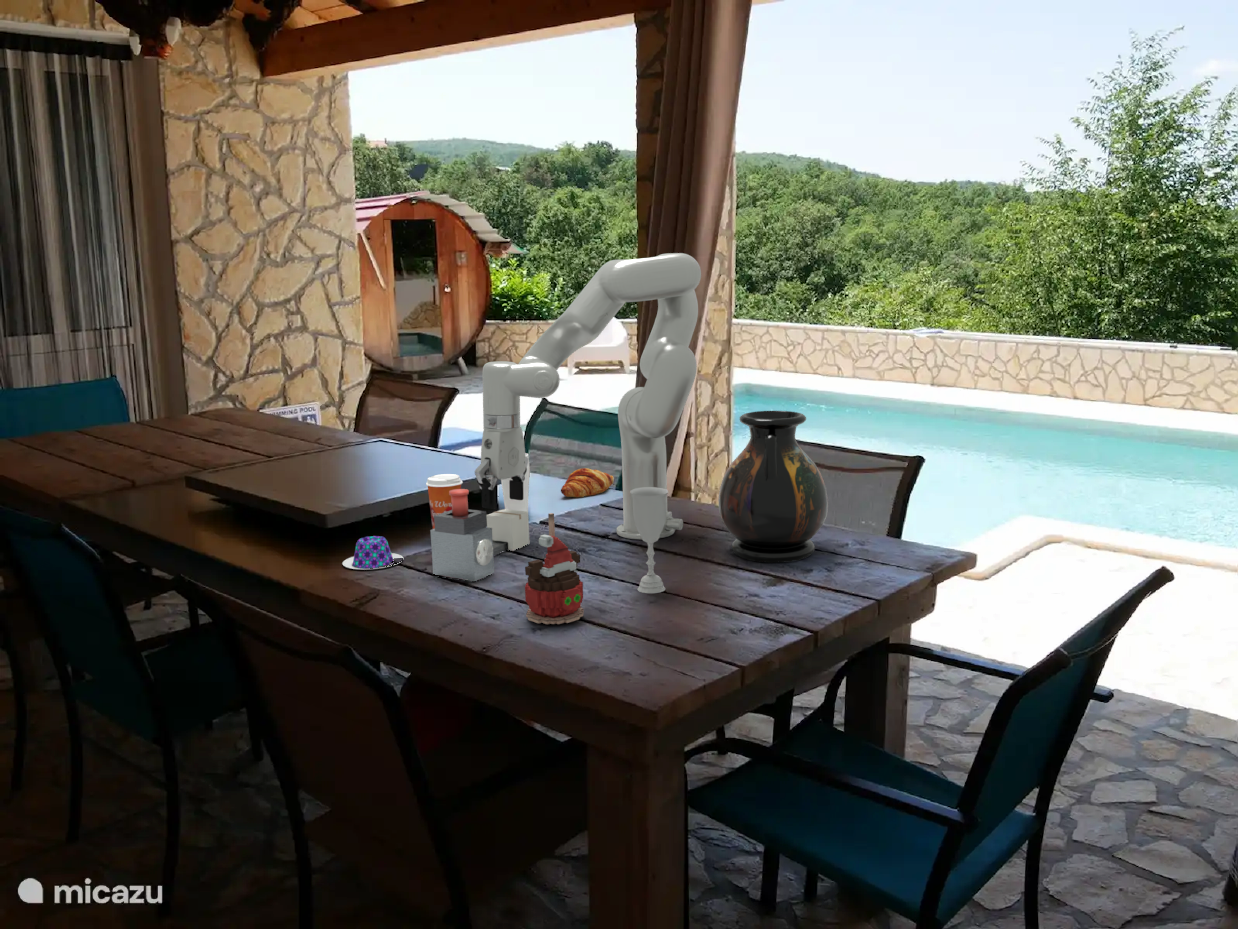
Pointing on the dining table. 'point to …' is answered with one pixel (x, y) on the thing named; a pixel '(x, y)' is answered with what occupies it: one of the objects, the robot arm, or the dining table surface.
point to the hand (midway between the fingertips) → (502, 503)
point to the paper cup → (441, 493)
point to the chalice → (650, 529)
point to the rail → (500, 547)
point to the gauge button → (459, 502)
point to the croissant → (586, 483)
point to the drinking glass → (523, 504)
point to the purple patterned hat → (371, 554)
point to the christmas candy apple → (554, 583)
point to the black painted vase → (773, 492)
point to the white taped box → (509, 527)
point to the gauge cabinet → (462, 545)
